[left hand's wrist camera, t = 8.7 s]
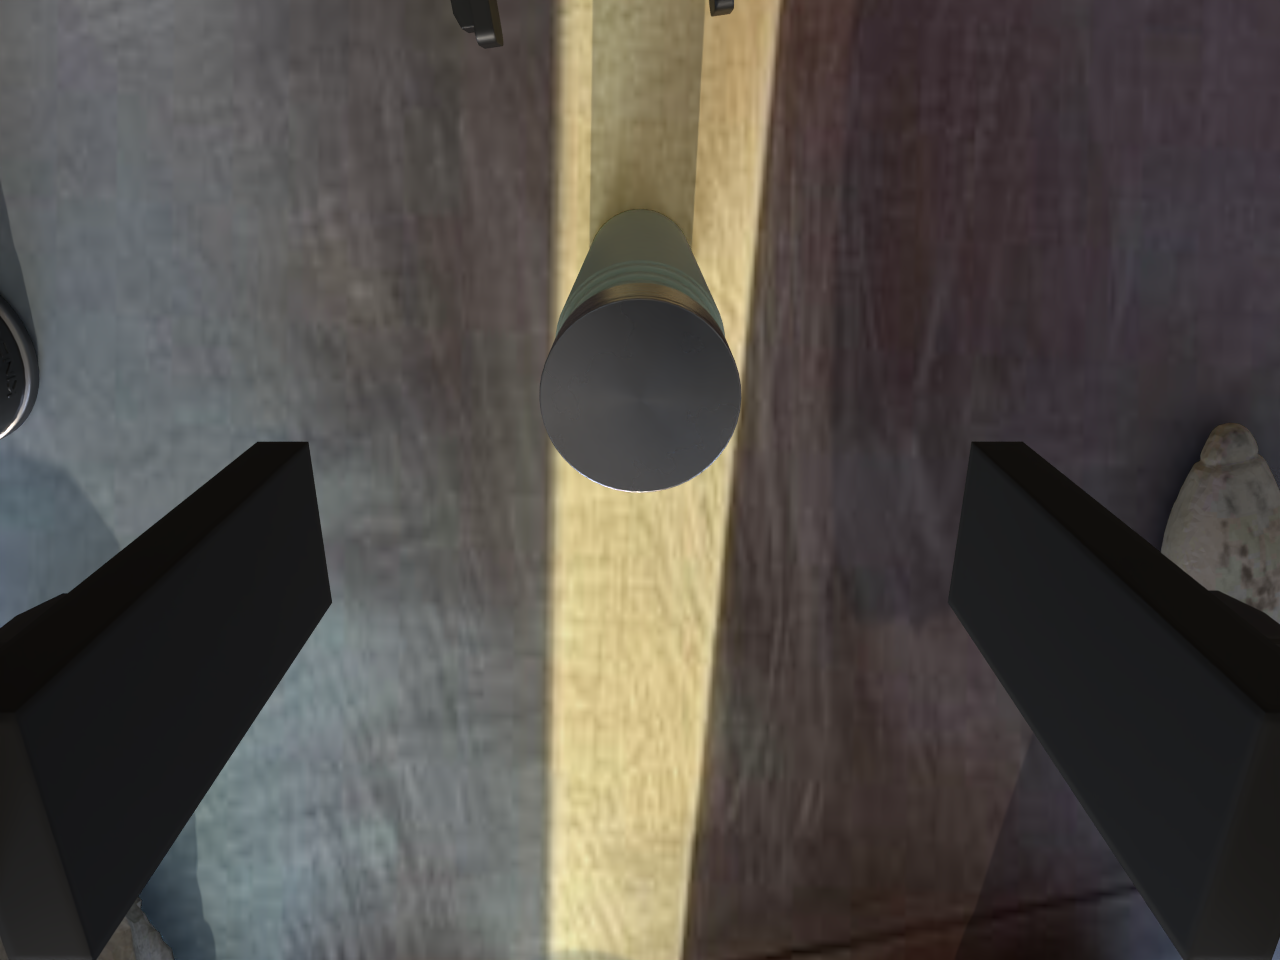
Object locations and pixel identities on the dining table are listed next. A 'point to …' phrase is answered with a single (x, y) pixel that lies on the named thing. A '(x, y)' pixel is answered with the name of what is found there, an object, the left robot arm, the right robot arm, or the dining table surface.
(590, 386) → the cap
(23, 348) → the right robot arm
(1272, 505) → the decorative stone
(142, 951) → the decorative stone
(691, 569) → the dining table surface
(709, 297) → the bottle
